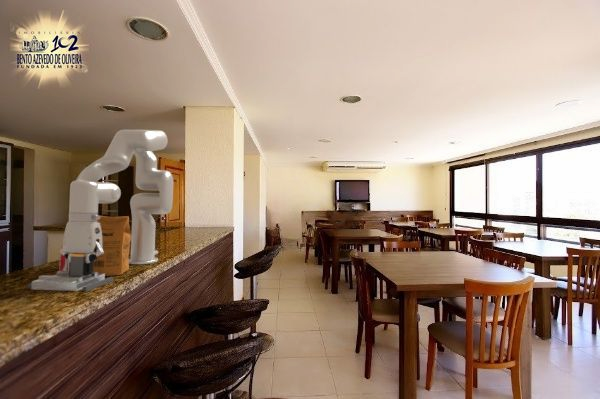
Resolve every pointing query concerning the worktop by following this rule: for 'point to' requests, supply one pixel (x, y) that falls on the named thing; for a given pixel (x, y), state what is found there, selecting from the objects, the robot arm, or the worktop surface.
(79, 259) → the grey block
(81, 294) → the worktop surface
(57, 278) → the breaker panel
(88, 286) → the grey thin bar
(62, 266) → the soda can
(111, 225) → the coffee package
